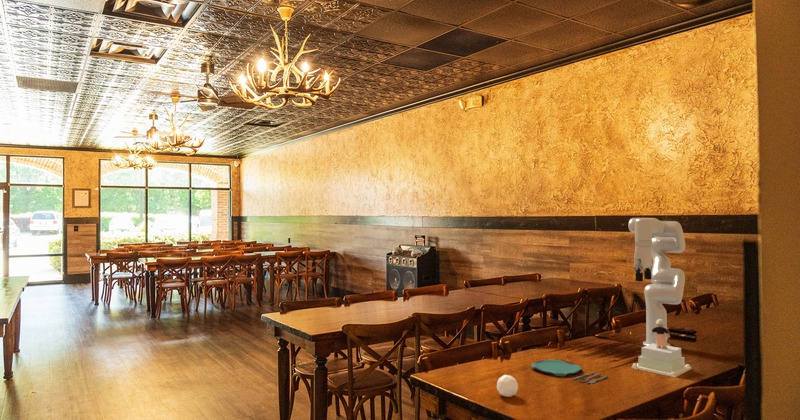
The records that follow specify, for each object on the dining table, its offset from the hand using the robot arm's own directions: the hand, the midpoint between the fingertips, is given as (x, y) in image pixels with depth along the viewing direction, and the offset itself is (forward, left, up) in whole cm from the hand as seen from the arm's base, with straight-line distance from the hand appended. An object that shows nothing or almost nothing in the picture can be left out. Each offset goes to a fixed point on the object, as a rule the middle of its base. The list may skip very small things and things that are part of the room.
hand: (643, 280), depth 249 cm
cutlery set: (+52, -11, -37) cm, 64 cm away
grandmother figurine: (+15, +13, -27) cm, 34 cm away
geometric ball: (+94, -10, -36) cm, 101 cm away
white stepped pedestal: (+15, +14, -36) cm, 41 cm away
